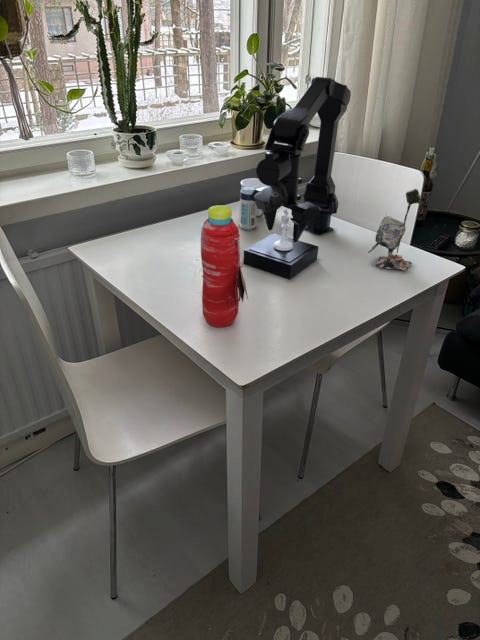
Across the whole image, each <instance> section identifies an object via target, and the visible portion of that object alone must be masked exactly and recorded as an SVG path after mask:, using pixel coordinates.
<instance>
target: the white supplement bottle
mask: <svg viewBox="0 0 480 640" xmlns="http://www.w3.org/2000/svg"><path fill="white" fill-rule="evenodd" d="M255 189H256V188H255V187H253V186H244V187H242V186H241V188H240V190H239V191H240V195H239V227H240V228H241V229H243V230H246V231H247V230H249V231H251V230H253V229H255V228H256V227H257V216H256V204H255V202H254V201H252V193H253V191H254V190H255Z"/></svg>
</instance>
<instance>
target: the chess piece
mask: <svg viewBox="0 0 480 640" xmlns="http://www.w3.org/2000/svg"><path fill="white" fill-rule="evenodd" d="M282 213H283V214H284V215H282V216H281V220H282V224H280V228H282V229H281V234H280V235H281V239H280V240H279V241H276V242H275V243H274V248H275V249H278V250H282V251H286V250H291V249H292V248H293V244H292V243H291V242H289V241H288V240H287V237H288V234H287V233H288V232H287V230H288V228H290V225H289V224H288V223H289V221H290V218H291V216H289V212H288V208H285V209H284V210H283V211H282Z"/></svg>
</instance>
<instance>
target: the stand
mask: <svg viewBox="0 0 480 640" xmlns="http://www.w3.org/2000/svg"><path fill="white" fill-rule="evenodd" d="M281 235H282V234H278V233H275V232H273V233H271V234H269V235H267V236H265V237H263V238H262V239H261V240H259V241H257V242H255V243H253V244H252V245H250V246H248V247H247V248H244V249H243V260H242V261H243V265H245V266H248V267H251V268H254V269H256V270H259V271H263V272H265V273H268V274H270V275H273V276H277V277H279V278H281V279H282V278H283V279H285V280H289V281H291V280H292V279H293V278H295V277H296V276H297V275H299V274H300V273H301V272H303V271H304V270H306V269H307V268H308V267H310V266H311V265H313V264H314V263H315V262H317V260H318V254H319V245H315V244H312V243H309V242H307V241H306V242H305V241H302V240H299V239H298V241H297V242H293V237H288V236H287V240H288V241H289V242H291V243H292V244H293V248H292V249H291V250H286V251H282V250H278V249H275V248H274V243H275V242H276V241H279V240H280V239H281Z"/></svg>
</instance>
